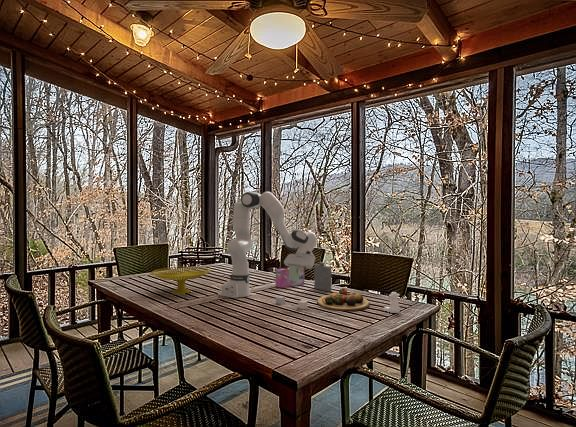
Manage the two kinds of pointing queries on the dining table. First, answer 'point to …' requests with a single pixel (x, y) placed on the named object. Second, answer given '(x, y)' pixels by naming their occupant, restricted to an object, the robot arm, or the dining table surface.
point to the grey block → (280, 300)
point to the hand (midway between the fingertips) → (293, 272)
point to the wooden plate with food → (343, 301)
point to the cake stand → (180, 276)
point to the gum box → (287, 278)
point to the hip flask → (322, 277)
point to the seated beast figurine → (393, 304)
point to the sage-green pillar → (293, 273)
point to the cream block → (302, 304)
